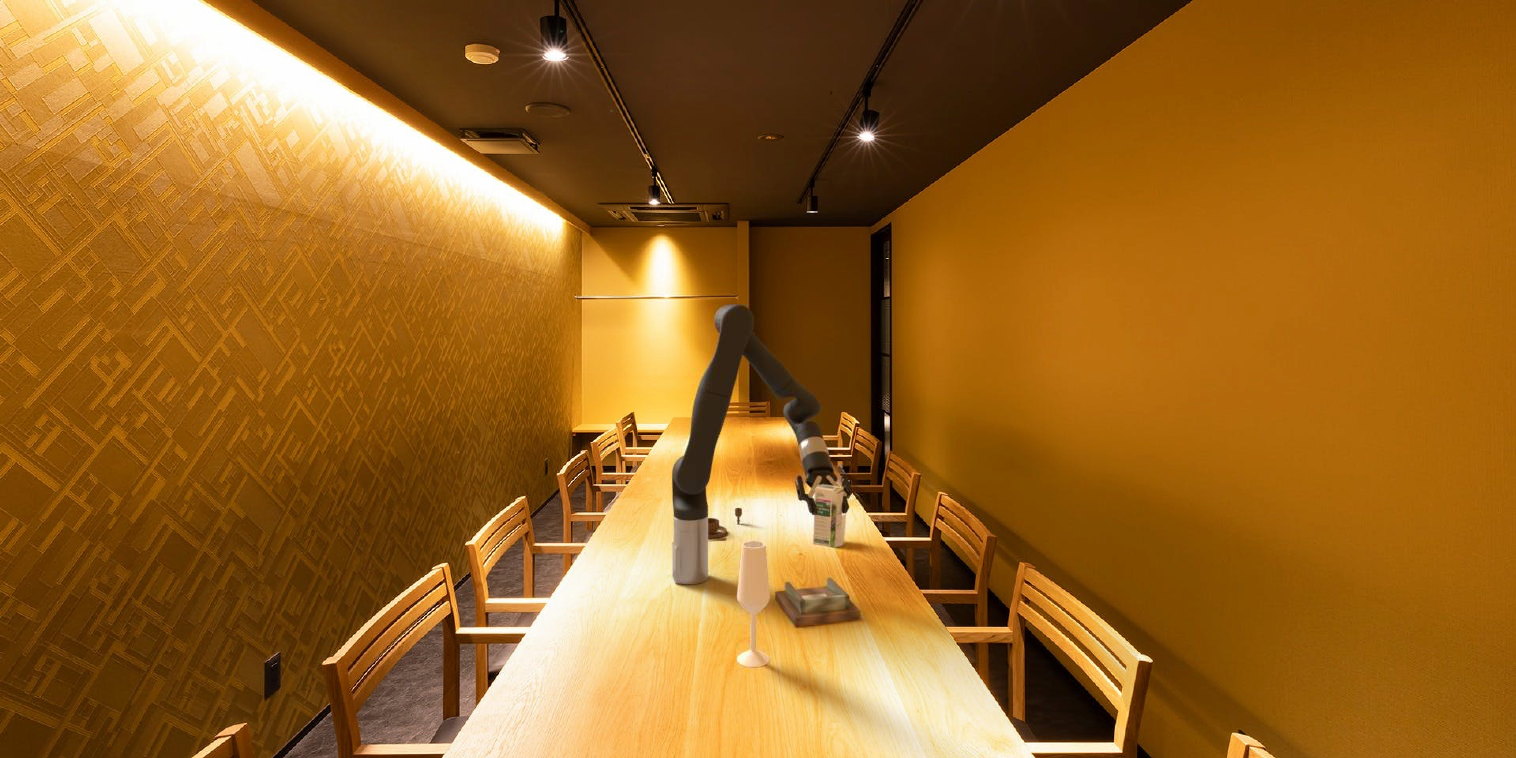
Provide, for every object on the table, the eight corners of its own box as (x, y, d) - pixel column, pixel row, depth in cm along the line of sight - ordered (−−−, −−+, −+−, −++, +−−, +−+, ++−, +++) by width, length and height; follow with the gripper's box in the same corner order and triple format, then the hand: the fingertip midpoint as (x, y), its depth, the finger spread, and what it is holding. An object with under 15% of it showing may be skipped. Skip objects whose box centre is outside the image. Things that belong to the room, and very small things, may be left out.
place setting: (684, 529, 228) (684, 512, 228) (740, 523, 235) (740, 507, 235) (697, 545, 212) (697, 526, 211) (757, 538, 219) (757, 520, 218)
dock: (795, 626, 153) (795, 605, 153) (775, 599, 168) (775, 579, 168) (860, 619, 157) (860, 598, 157) (835, 592, 173) (835, 573, 172)
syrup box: (812, 544, 168) (814, 487, 167) (820, 538, 174) (822, 482, 173) (833, 548, 166) (835, 490, 165) (841, 542, 171) (844, 485, 170)
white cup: (845, 540, 215) (845, 509, 215) (846, 548, 208) (846, 516, 207) (820, 539, 216) (820, 508, 215) (820, 547, 208) (820, 515, 208)
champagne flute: (768, 650, 142) (769, 539, 140) (770, 667, 135) (771, 549, 133) (736, 651, 141) (737, 539, 140) (736, 667, 135) (737, 549, 133)
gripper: (793, 450, 173) (807, 506, 163) (844, 449, 177) (861, 503, 167) (786, 466, 179) (799, 521, 169) (836, 465, 183) (852, 518, 173)
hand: (830, 512), depth 168 cm, fingers closed on syrup box, 8 cm apart
